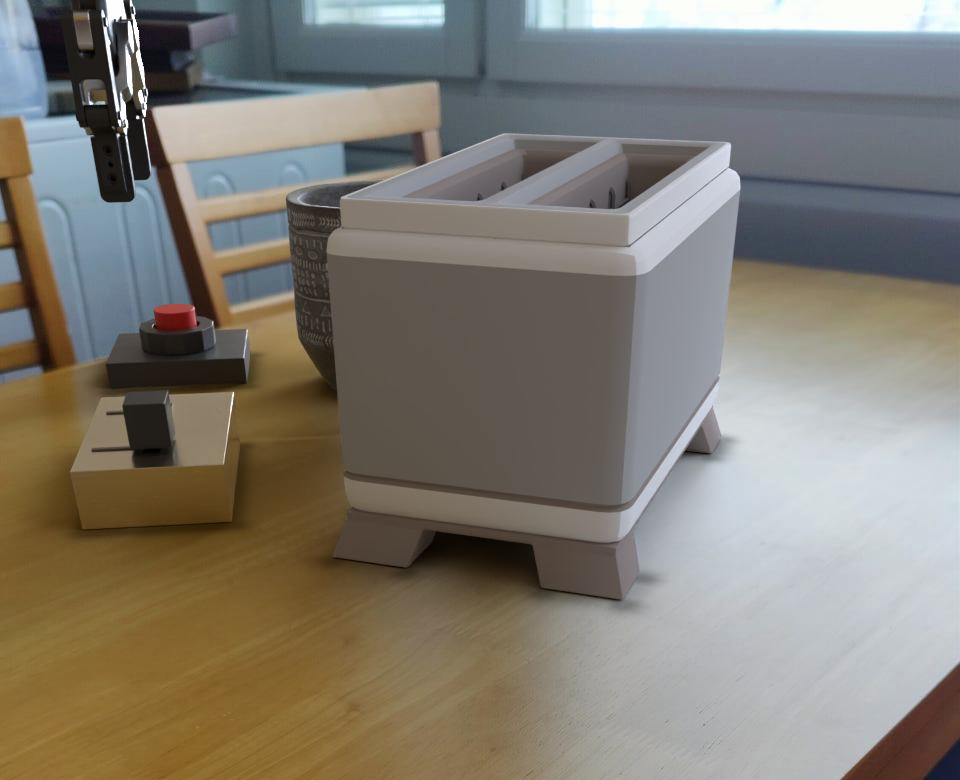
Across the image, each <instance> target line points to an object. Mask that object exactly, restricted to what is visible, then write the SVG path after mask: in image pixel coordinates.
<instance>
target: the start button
mask: <svg viewBox="0 0 960 780" xmlns="http://www.w3.org/2000/svg"><path fill="white" fill-rule="evenodd" d="M195 309H196V308H195V306H194V305H192V304H187V303H168V304H161V305H159V306H156V307H154V308H153V316H154V319H155V323H156V329H157V330H164V331H179V330H186V329H191V328H195V327H197V323H196V316H197V315H196V310H195Z"/></svg>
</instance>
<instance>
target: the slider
mask: <svg viewBox="0 0 960 780" xmlns="http://www.w3.org/2000/svg"><path fill="white" fill-rule="evenodd" d="M125 394H126V395H125V396H124V397H125V399H124V402H123V405H122V408H123V413H124V419H125V424H126V430H127V435H128V440H129V446H130V449H131V450H138V449H159V448H172V444H173V440H174V436H175V428H174V422H173V416H172V410H171V403H170V397H169V395H170V392H169V390H168V389H165V390H164V389H163V390H160V389H159V390H141V391H137V390H136V391H126V393H125Z"/></svg>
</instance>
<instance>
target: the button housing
mask: <svg viewBox="0 0 960 780" xmlns="http://www.w3.org/2000/svg"><path fill="white" fill-rule="evenodd" d="M195 316H196V323H197V327H195V328H191V329H186V330H179V331H164V330H157V329H156V323H155V318H150V319H148V320H146V321H144V322H141V323H140V325H139V327H138V332H130V333H129V332H127V333H119V334H117V337H116V340H115V342H114V344H113V346H112V348H111V351H110V352H109V355H108V357H107V360H106V362H105V368H106V373H107V374H106V375H107V379H108V380H107V381H108V384H109V389H110V390H115V389H116V390H117V389H118V390H119V389H139V388H161V387H162V388H163V387H164V388H165V387H185V386H208V385H209V386H211V385H213V386H214V385H233V384H234V385H235V384H236V385H237V384H247V383H248V378H249V369H250V361H251V360H250V359H251V345H250V336H249V329H248V328H233V329H231V328H230V329H215V323H214V320H212V319H210V318H209V317H208V318H207V317H206V316H200V315H195Z"/></svg>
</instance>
